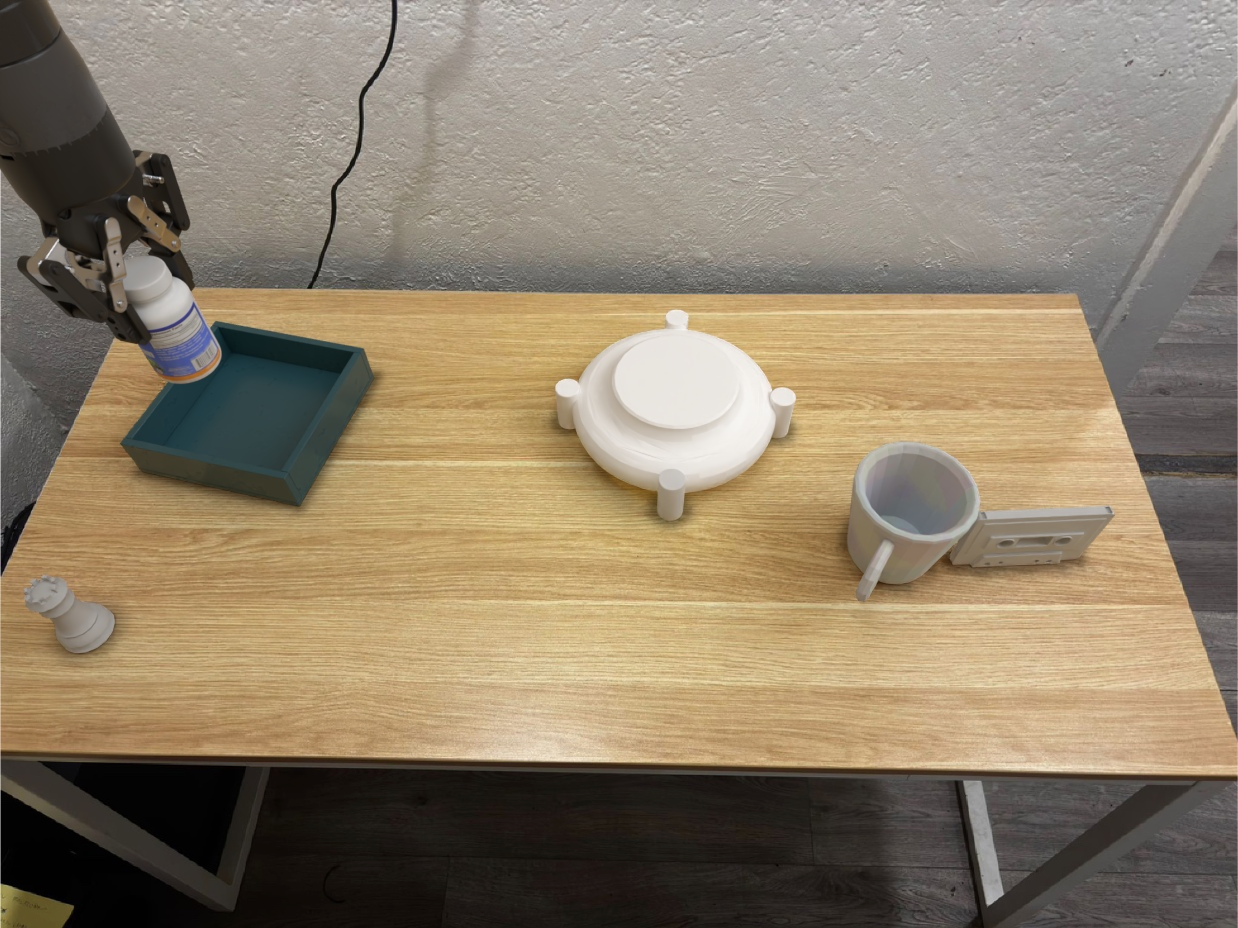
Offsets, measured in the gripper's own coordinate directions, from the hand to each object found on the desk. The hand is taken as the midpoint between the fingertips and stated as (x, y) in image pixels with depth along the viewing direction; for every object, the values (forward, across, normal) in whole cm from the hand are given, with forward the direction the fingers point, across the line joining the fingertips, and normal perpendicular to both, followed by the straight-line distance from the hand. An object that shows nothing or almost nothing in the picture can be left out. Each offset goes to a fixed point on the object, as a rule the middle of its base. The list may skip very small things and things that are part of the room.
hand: (161, 313), depth 66 cm
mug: (+22, -5, +60) cm, 65 cm away
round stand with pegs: (+22, -17, +38) cm, 48 cm away
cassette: (+22, -9, +72) cm, 76 cm away
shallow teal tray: (+22, -7, -4) cm, 24 cm away
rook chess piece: (+23, +19, -6) cm, 30 cm away
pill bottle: (+6, 0, 0) cm, 6 cm away
